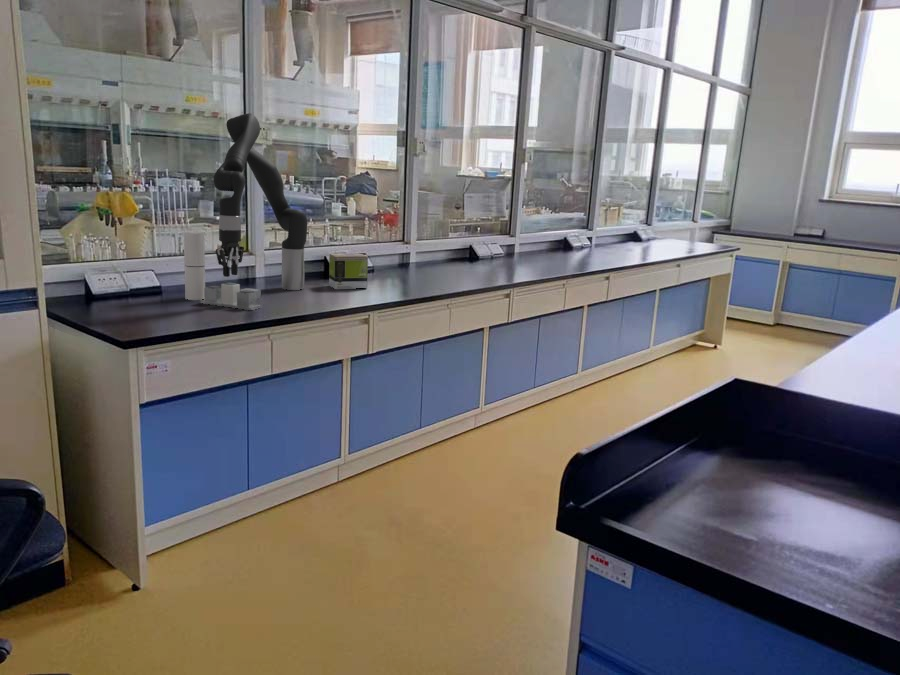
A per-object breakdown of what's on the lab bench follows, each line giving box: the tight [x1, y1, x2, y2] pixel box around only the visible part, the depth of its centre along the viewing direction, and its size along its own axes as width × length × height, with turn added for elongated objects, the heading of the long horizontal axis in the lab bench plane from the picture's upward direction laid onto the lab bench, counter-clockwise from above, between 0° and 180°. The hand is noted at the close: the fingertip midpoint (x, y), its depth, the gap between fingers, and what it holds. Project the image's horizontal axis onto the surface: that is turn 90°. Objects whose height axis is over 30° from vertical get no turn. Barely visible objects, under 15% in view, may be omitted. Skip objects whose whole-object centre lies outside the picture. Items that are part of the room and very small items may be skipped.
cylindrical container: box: [183, 230, 206, 301], centre depth 258 cm, size 7×7×25 cm
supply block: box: [240, 287, 262, 300], centre depth 268 cm, size 6×6×4 cm
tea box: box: [328, 253, 369, 290], centre depth 303 cm, size 15×10×15 cm
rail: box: [199, 285, 262, 311], centre depth 252 cm, size 6×22×6 cm, turn 71°
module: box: [220, 282, 241, 305], centre depth 251 cm, size 4×5×7 cm
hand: (230, 275), depth 250 cm, fingers open, 4 cm apart
